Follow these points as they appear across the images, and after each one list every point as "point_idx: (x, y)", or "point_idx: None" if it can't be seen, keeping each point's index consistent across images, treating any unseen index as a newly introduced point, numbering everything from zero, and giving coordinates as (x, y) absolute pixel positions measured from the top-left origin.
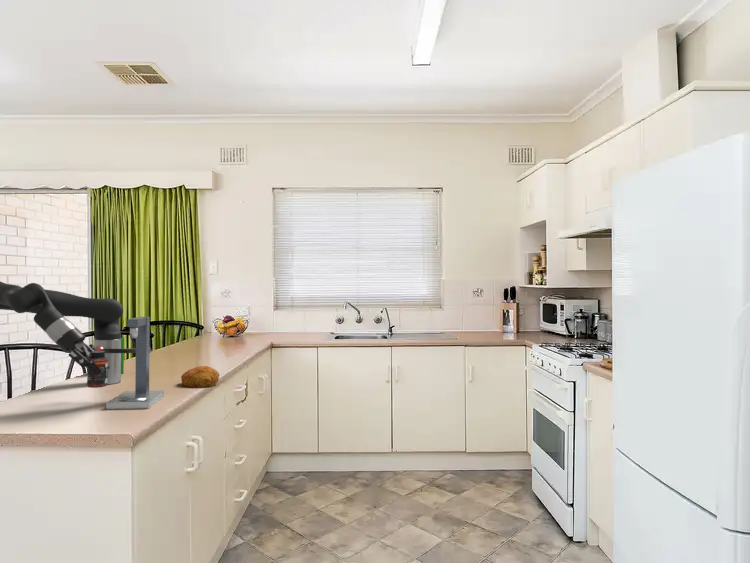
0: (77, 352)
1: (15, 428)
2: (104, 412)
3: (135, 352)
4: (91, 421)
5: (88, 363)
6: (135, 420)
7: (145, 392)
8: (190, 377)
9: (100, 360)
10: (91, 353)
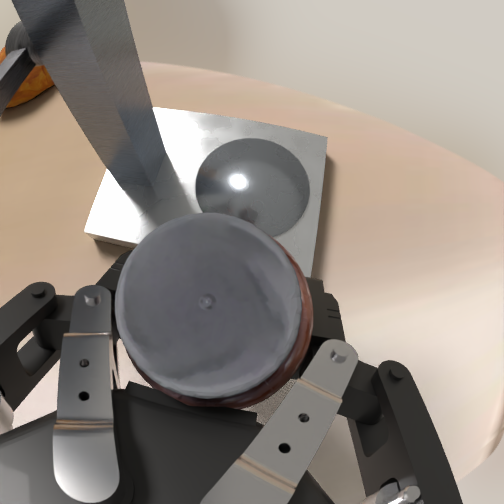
0: (451, 483)
1: (457, 468)
2: (353, 282)
3: (18, 84)
4: (450, 298)
5: (375, 368)
6: (447, 186)
7: (165, 150)
8: (42, 66)
9: (302, 274)
10: (252, 385)
